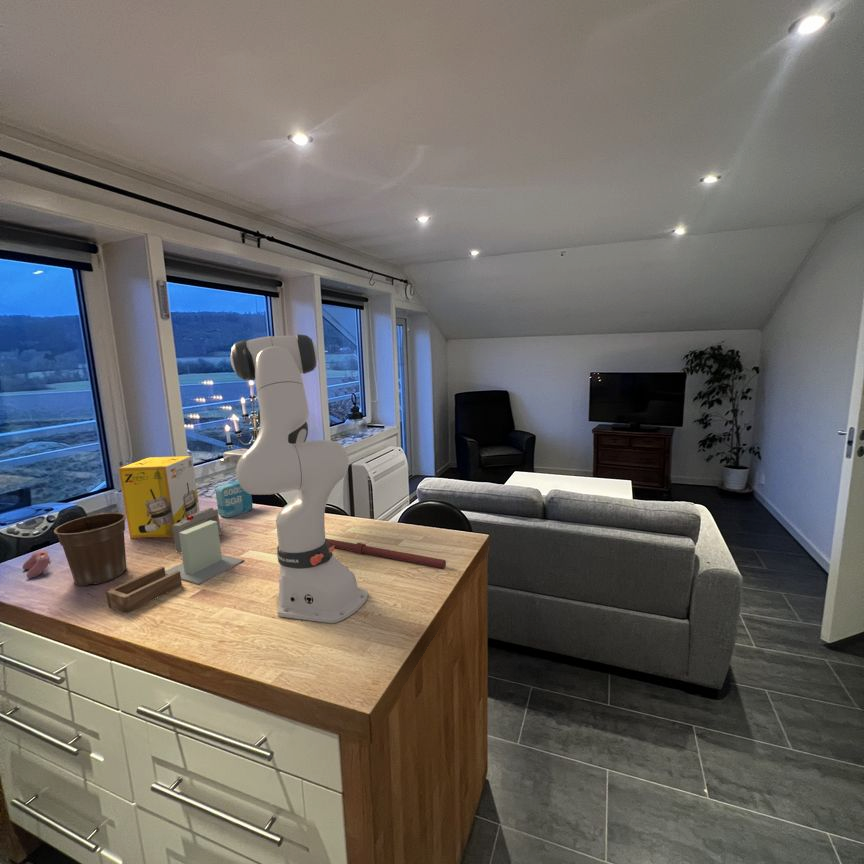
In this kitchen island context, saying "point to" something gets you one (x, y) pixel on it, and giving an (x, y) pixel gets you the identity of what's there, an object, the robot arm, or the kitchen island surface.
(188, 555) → the cover plate
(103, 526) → the plant pot
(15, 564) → the kitchen island surface
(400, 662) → the kitchen island surface
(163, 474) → the packaging box
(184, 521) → the cassette player
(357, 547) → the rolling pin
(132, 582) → the walnut box
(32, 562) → the pink lobed lump
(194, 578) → the grey rubber mat
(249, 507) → the teal lettered box
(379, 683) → the kitchen island surface
